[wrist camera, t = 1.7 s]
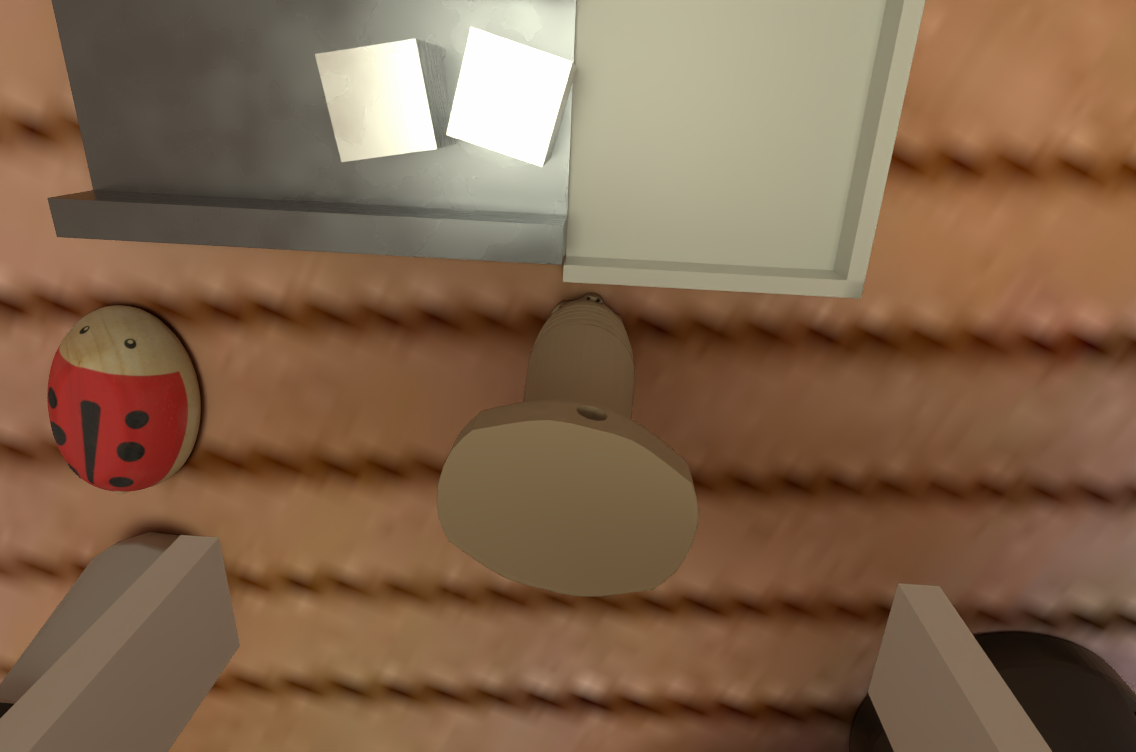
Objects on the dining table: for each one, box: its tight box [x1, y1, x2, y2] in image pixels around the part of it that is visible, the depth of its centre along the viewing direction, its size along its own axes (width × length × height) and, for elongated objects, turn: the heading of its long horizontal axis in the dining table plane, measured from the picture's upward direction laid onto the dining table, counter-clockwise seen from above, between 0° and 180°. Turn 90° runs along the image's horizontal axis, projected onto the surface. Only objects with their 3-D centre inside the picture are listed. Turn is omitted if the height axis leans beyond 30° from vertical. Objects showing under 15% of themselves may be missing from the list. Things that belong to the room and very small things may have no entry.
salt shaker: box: [0, 532, 180, 704], centre depth 31 cm, size 6×6×13 cm
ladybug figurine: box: [48, 305, 201, 494], centre depth 32 cm, size 7×10×4 cm
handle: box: [437, 293, 699, 597], centre depth 23 cm, size 5×6×15 cm
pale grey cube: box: [446, 27, 577, 167], centre depth 24 cm, size 4×4×4 cm
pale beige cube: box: [315, 38, 458, 162], centre depth 25 cm, size 4×4×4 cm
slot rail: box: [48, 0, 577, 265], centre depth 26 cm, size 20×11×4 cm, turn 87°
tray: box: [563, 0, 925, 298], centre depth 26 cm, size 12×13×2 cm
